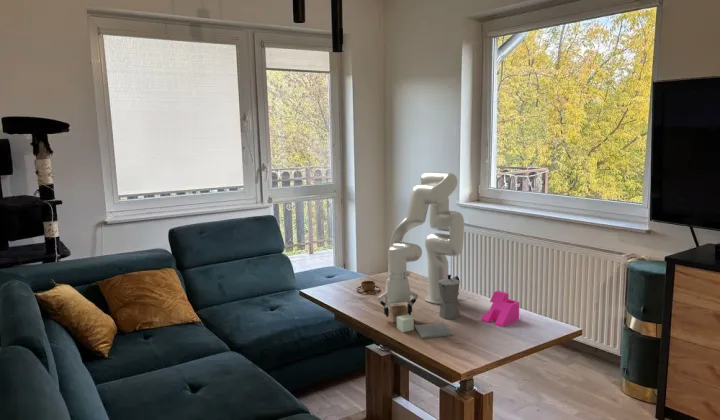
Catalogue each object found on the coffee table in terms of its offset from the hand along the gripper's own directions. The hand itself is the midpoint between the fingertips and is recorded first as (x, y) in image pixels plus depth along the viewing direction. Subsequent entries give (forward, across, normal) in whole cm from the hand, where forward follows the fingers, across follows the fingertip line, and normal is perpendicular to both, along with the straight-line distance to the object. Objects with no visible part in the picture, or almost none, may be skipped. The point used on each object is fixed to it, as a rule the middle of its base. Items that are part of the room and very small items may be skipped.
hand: (398, 315), depth 221 cm
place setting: (+3, +1, -43) cm, 43 cm away
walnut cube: (+2, 0, 0) cm, 2 cm away
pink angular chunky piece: (+2, -41, +11) cm, 42 cm away
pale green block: (+2, 0, +11) cm, 11 cm away
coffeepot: (+2, -23, 0) cm, 23 cm away
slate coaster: (+2, -10, +16) cm, 19 cm away
